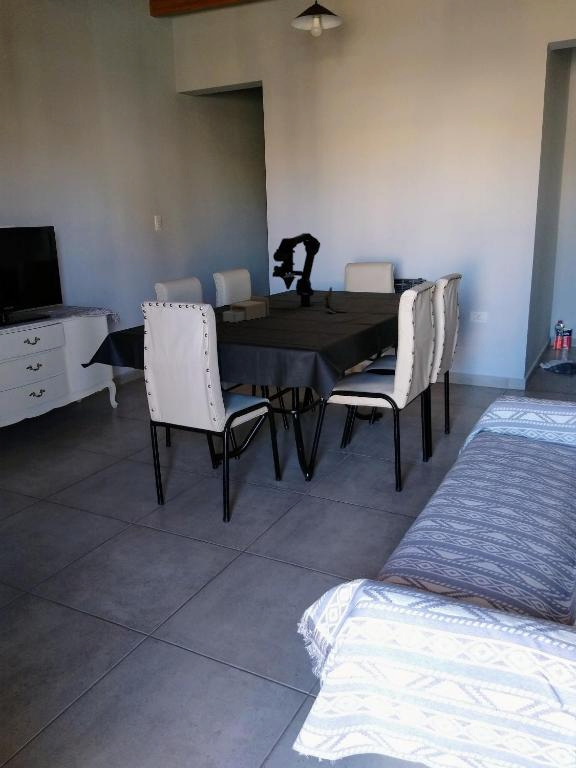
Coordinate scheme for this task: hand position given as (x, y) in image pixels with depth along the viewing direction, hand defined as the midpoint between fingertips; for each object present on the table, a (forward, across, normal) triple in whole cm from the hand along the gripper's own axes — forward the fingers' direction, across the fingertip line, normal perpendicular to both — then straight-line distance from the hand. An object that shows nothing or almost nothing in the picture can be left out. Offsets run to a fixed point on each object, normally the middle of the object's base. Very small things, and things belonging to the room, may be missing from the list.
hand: (287, 289), depth 354 cm
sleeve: (+14, +29, 0) cm, 32 cm away
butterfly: (+12, -11, +26) cm, 30 cm away
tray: (+14, +32, +1) cm, 34 cm away
